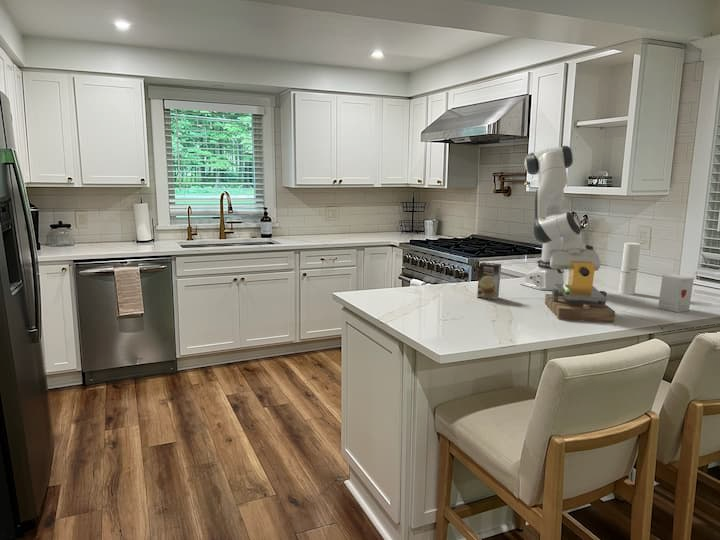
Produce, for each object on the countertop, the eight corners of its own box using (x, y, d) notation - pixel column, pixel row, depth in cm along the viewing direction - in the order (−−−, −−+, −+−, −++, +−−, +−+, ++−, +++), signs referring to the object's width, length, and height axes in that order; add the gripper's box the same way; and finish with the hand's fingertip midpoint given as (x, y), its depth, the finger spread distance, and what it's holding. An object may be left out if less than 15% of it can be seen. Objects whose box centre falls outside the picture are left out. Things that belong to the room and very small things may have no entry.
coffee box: (476, 297, 246) (478, 263, 244) (479, 295, 252) (481, 261, 249) (496, 300, 243) (498, 265, 240) (499, 297, 248) (501, 263, 246)
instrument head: (554, 287, 232) (557, 257, 229) (592, 289, 230) (596, 258, 227) (564, 299, 215) (568, 266, 212) (605, 301, 213) (610, 268, 210)
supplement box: (677, 312, 228) (681, 278, 226) (657, 307, 236) (661, 274, 234) (689, 310, 233) (694, 277, 230) (670, 306, 240) (674, 273, 238)
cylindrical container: (636, 295, 261) (642, 244, 257) (620, 294, 262) (626, 244, 258) (632, 292, 268) (638, 242, 264) (616, 291, 269) (622, 242, 265)
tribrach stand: (544, 303, 238) (546, 283, 236) (593, 306, 235) (596, 285, 234) (558, 319, 213) (560, 296, 211) (613, 322, 210) (616, 298, 208)
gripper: (549, 245, 231) (552, 271, 223) (599, 247, 228) (603, 273, 221) (546, 253, 236) (549, 279, 229) (595, 255, 234) (599, 282, 226)
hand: (576, 276), depth 225 cm, fingers closed, pressing on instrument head
